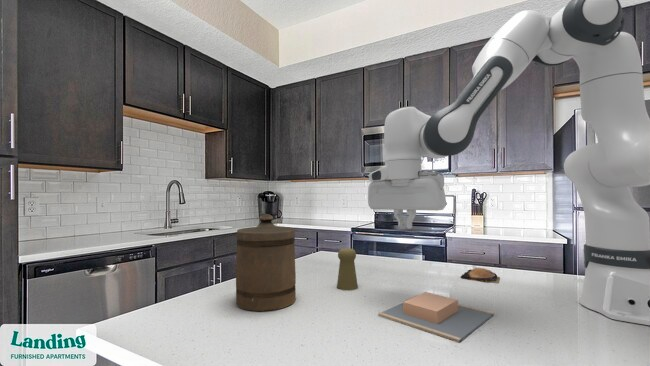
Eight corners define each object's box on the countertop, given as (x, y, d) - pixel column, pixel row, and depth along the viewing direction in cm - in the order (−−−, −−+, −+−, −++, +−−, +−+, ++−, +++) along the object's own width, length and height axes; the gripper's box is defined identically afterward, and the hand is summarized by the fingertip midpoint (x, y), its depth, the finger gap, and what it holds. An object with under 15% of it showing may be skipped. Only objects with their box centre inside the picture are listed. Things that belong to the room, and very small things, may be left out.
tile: (425, 302, 78) (458, 310, 72) (403, 313, 71) (437, 323, 65) (425, 291, 78) (458, 299, 72) (403, 302, 71) (437, 311, 65)
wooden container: (283, 288, 91) (283, 211, 92) (304, 304, 78) (304, 214, 79) (230, 297, 84) (230, 213, 85) (244, 316, 71) (243, 217, 72)
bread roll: (500, 279, 101) (500, 267, 101) (498, 286, 94) (498, 273, 94) (464, 274, 107) (464, 263, 107) (459, 280, 100) (458, 268, 100)
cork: (362, 287, 91) (361, 249, 92) (345, 291, 88) (345, 251, 88) (349, 282, 96) (348, 246, 97) (332, 286, 93) (332, 248, 93)
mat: (493, 315, 71) (493, 312, 71) (459, 342, 58) (459, 339, 58) (419, 296, 84) (419, 294, 84) (378, 315, 71) (378, 313, 71)
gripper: (449, 170, 75) (451, 229, 75) (377, 175, 90) (379, 224, 89) (437, 169, 71) (439, 232, 70) (363, 175, 85) (365, 227, 85)
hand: (405, 228), depth 80 cm, fingers closed
